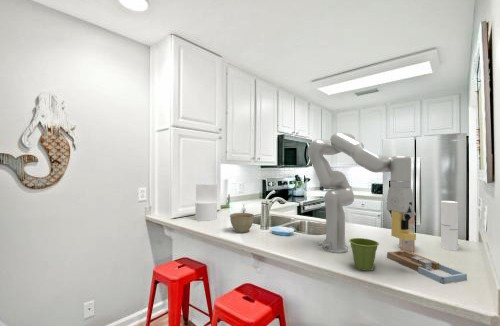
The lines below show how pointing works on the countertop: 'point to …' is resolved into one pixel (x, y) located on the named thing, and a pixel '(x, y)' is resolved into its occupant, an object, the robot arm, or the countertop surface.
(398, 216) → the l-shaped block
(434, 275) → the tray
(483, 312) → the countertop surface
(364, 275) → the countertop surface
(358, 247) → the plant pot
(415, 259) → the pale grey block
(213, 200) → the cylinder
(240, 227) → the planter bowl
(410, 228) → the cracker box
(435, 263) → the slot board
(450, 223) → the cylindrical container
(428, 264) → the chip
